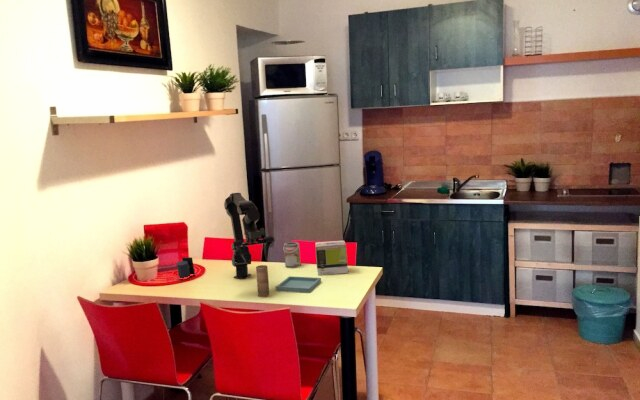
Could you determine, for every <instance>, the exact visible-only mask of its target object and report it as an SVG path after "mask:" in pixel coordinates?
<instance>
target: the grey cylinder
mask: <svg viewBox="0 0 640 400" xmlns="http://www.w3.org/2000/svg"><path fill="white" fill-rule="evenodd" d="M300 249H301V248H300V243H299V242H296V241H289V242H285V243H283V248H282V251H283V252H284V253H283V254H284V265H285V267H286V268H298V267H300V266H301V251H300Z"/></svg>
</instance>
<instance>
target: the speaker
mask: <svg viewBox="0 0 640 400" xmlns="http://www.w3.org/2000/svg"><path fill="white" fill-rule="evenodd" d="M181 259H182V260H180V261H178V262H176V268H177V273H178V278H179V277H180V278H184V277H188V276H190V274H195V275H196V272H195V267H194V262H193V261H194V260H193V257H187V256H186V257H182V258H181Z"/></svg>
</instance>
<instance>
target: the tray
mask: <svg viewBox="0 0 640 400" xmlns="http://www.w3.org/2000/svg"><path fill="white" fill-rule="evenodd" d="M320 282H321V283H322V277H311V276H292V275H291V276H290V275H288V276H287V278H284V280H282V281H281V282H280V283H278V284H277V285H276V286H275V291H276V292H285V293H286V292H287V293H288V292H290V293H301V294H303V293H305V294H310V293H311V292H312V291H313V290H314V289H315V288H316V287H318V285H320Z"/></svg>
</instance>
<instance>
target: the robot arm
mask: <svg viewBox="0 0 640 400" xmlns="http://www.w3.org/2000/svg"><path fill="white" fill-rule="evenodd" d="M223 206H224V207H223V208H224V210H225V211H226V214H227V216H228V217H229V218H230V222H231V227H232V233H233V234H232V235H233V239H234V241H233V242H232V243H231V250H232V253H233V254H232V258H231V265H232V266H233V267H234V268H235V272H236V273H235V274H236V275H234V276H233V278H234V279H247V278H249V277H250V276H251V275H252V274H251V273H249V270H248V265H251V264H252V257H253V256H252V254H251V252H250V249H249V246H254V245H263V247H262V248H263V252H264V253H263V254H264V257H265V261H267V260H268V258H269V257H268V256H269V250H270V247H271V246H272V245H273V244H274V243H275V242H276V241H275V237H274V236H273V235H268V236H266V231H265V228H264V227H262V228H261V227H260V228H258V227H257V224H256V223H257V222H258V221H259V220H260V217H261V214H260V211H259V209H258V207H257V206H256V205H255V203H254V202H253V201H252V200H247V199H245V197H244V196H243V195H242V193H241V192H232V193H230V194H229V196H228V197H227V198H225V200H224V203H223ZM241 216H242V219H241ZM241 221H242V222H241ZM258 229H259V230H258ZM243 232H244V233H243ZM244 236H245V239H244ZM262 236H264V238H263V239H262Z"/></svg>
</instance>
